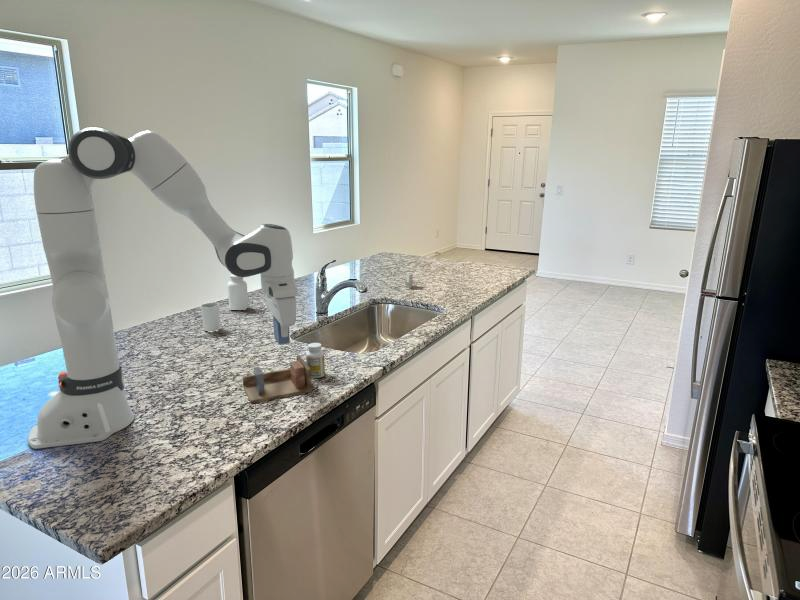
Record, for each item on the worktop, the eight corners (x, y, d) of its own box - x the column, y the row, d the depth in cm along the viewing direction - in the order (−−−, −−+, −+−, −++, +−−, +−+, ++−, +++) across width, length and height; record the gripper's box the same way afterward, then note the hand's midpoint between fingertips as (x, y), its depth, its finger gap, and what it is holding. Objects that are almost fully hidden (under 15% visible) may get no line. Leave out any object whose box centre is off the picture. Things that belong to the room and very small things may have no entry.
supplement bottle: (316, 370, 167) (315, 340, 164) (328, 374, 163) (327, 344, 161) (303, 375, 163) (301, 345, 160) (315, 380, 159) (313, 349, 157)
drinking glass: (224, 327, 207) (222, 302, 204) (217, 333, 200) (214, 307, 198) (207, 327, 207) (205, 302, 205) (199, 332, 201) (197, 307, 198)
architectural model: (402, 289, 264) (402, 275, 262) (406, 286, 270) (406, 272, 268) (409, 290, 263) (409, 275, 261) (413, 287, 269) (413, 272, 267)
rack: (250, 403, 145) (248, 380, 143) (243, 386, 155) (241, 365, 153) (311, 391, 152) (310, 369, 150) (300, 376, 162) (299, 355, 160)
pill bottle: (252, 308, 232) (250, 274, 228) (238, 312, 225) (235, 278, 221) (240, 305, 236) (237, 272, 232) (225, 310, 229) (222, 275, 225)
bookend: (259, 395, 148) (257, 374, 146) (255, 387, 152) (253, 367, 151) (264, 393, 148) (263, 373, 147) (260, 386, 153) (259, 366, 151)
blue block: (279, 344, 147) (277, 323, 145) (274, 338, 151) (273, 318, 150) (289, 342, 148) (288, 322, 146) (285, 336, 153) (283, 316, 151)
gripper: (258, 277, 153) (262, 323, 157) (274, 294, 135) (278, 345, 139) (280, 275, 155) (283, 320, 159) (299, 291, 138) (302, 342, 141)
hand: (281, 332), depth 149 cm, fingers closed on blue block, 5 cm apart
